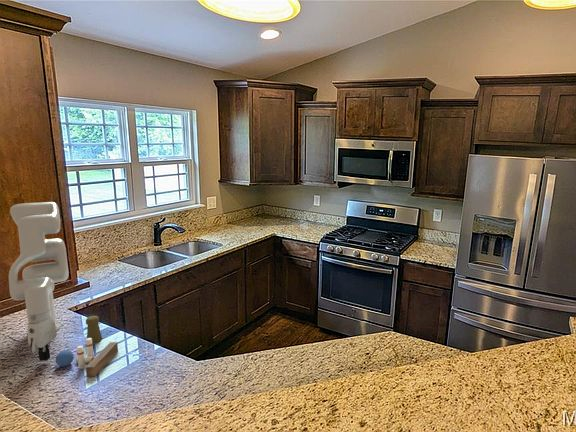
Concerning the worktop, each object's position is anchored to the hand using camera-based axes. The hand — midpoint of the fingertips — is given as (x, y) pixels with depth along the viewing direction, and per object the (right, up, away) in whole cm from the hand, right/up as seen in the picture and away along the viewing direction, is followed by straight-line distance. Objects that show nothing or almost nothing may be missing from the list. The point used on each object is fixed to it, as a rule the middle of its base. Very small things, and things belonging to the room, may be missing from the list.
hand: (44, 359), depth 143 cm
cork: (+10, +1, +18) cm, 20 cm away
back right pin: (+16, -2, -3) cm, 17 cm away
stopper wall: (+23, -2, 0) cm, 23 cm away
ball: (+9, +1, -2) cm, 9 cm away
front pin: (+13, 0, 0) cm, 13 cm away
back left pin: (+16, -1, +3) cm, 17 cm away
